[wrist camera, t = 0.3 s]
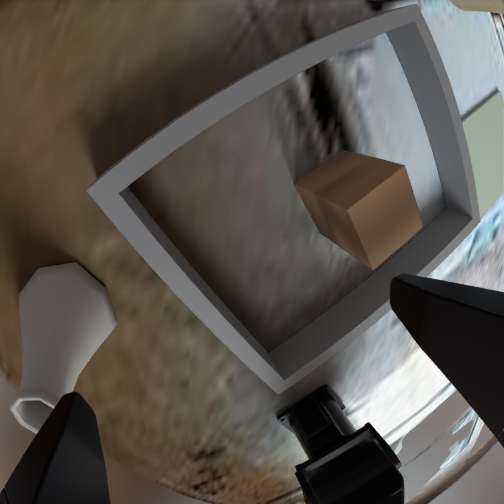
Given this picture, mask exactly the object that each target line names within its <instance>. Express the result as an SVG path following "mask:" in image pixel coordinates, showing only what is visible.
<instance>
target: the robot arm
mask: <svg viewBox="0 0 504 504" xmlns="http://www.w3.org/2000/svg"><path fill="white" fill-rule="evenodd" d="M390 306H391V308H392V310H393V311H394V313H395V314H396V315H397V317H398V318H399V319H400V321H401V322H402V323H403V325H404V326H405V328H406V329H407V330H408V332H409V333H410V334H411V336H412V337H413V339H414V340H415V341H416V343H417V344H418V345H419V346H420V348H421V349H422V350H423V351H424V352H425V353H426V355H427V356H428V357H429V358H430V359H431V360H432V361H433V362H434V364H435V365H436V366H437V367H438V368H439V369H440V370H441V372H442V373H443V374H444V375H445V376H446V377H447V379H448V380H449V381H450V382H451V383H452V384H453V386H454V387H455V388H456V389H457V390H458V391H459V393H460V394H461V395H462V396H463V397H464V399H465V400H466V401H467V402H468V403H469V405H470V406H471V407H472V408H473V410H474V411H475V412H476V413H477V414H478V416H479V417H480V418H481V419H482V421H483V422H484V423H485V424H486V426H487V427H488V428H489V429H490V431H491V432H492V433H493V434H494V436H495V437H496V438H497V440H498V441H499V442H500V443H501V445H502V446H503V448H504V292H500V291H495V290H490V289H485V288H479V287H474V286H469V285H464V284H458V283H453V282H448V281H443V280H437V279H432V278H427V277H421V276H416V275H411V274H405V273H402V274H399V275H397V276H395V277H393V278H392V279H391V281H390ZM344 408H345V406H344V405H343V403H342V402H341V401H340V400H339V398H338V397H337V396H336V395H335V393H334V392H333V391H332V390H331V389H330V387H329V386H328V385H324V386H322V387H321V388H319V389H318V390H317V391H315V392H314V393H312V394H311V395H309V396H308V397H306V398H305V399H304V400H302V401H301V402H299V403H298V404H296V405H295V406H293V407H292V408H290V409H289V410H287V411H285V412H284V413H282V414H281V415H279V416H278V417H277V420H278V422H279V423H280V424H282V425H283V426H285V427H286V428H287V429H289V430H290V431H291V432H293V433H294V434H295V435H296V437H297V439H298V440H299V442H300V444H301V446H302V448H303V449H304V451H305V453H306V455H307V457H308V458H309V460H307V461H305V462H304V463H302V464H298V465H296V466H295V468H296V470H297V472H296V473H295V475H296V477H297V479H298V481H299V483H300V485H301V488H302V492H303V495H304V499H305V502H306V504H404V479H403V476H402V475H401V473H400V472H399V471H398V468H400V467H401V466H402V465H401V463H400V461H399V459H398V457H397V456H396V454H395V453H394V451H393V450H392V449H391V447H390V446H389V445H388V444H387V442H386V441H385V440H384V439H383V438H382V437H381V436H380V434H379V433H378V432H377V431H376V430H375V429H374V427H373V426H372V425H371V424H370V423H369V422H368V423H366V424H365V426H363V427H362V428H360V429H359V430H356V429H355V428H354V426H353V425H352V423H351V422H350V421H349V419H348V418H347V416H346V415H345V414H344V412H343V411H342V410H344ZM0 504H111V503H110V497H109V490H108V483H107V475H106V467H105V462H104V456H103V452H102V447H101V442H100V437H99V431H98V426H97V420H96V415H95V413H94V411H93V410H92V408H91V407H90V406H89V405H88V403H87V402H86V401H85V400H84V398H83V397H82V396H81V395H80V393H78V392H75V391H74V392H70V393H66V394H64V395H63V396H62V397H61V399H60V400H59V402H58V403H57V404H56V406H55V407H54V409H53V410H52V412H51V413H50V415H49V416H48V418H47V419H46V421H45V422H44V424H43V425H42V427H41V428H40V430H39V431H38V433H37V435H36V436H35V438H34V439H33V441H32V442H31V444H30V445H29V447H28V448H27V450H26V452H25V453H24V455H23V456H22V458H21V460H20V461H19V463H18V465H17V466H16V468H15V469H14V471H13V473H12V474H11V476H10V478H9V479H8V481H7V483H6V484H5V488H3V490H2V491H1V493H0Z"/></svg>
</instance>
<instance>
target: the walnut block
mask: <svg viewBox="0 0 504 504" xmlns="http://www.w3.org/2000/svg"><path fill="white" fill-rule="evenodd" d="M294 186H295V188H296V190H297V191H298V193H299V195H300V197H301V198H302V200H303V202H304V204H305V206H306V208H307V209H308V211H309V213H310V215H311V217H312V219H313V221H314V222H315V224H316V226H317V228H318V230H319V232H320V233H321V234H322V235H323V236H325V237H326V238H328V239H329V240H331V241H332V242H334V243H335V244H336V245H338V246H339V247H341V248H342V249H344V250H345V251H346V252H348V253H349V254H351V255H352V256H353V257H355V258H356V259H358V260H359V261H360V262H362V263H363V264H365V265H366V266H367V267H369V268H370V269H371V270H374V269H375V268H376V267H378V266H379V265H380V264H381V263H382V262H383V261H385V260H386V259H387V258H388V257H389V256H391V255H392V254H393V253H394V252H395V251H396V250H397V249H399V248H400V247H401V246H402V245H403V244H404V243H405V242H407V241H408V240H409V239H410V238H411V237H412V236H413V235H414V234H416V233H417V232H418V231H419V230H420V229H421V228H422V227H423V225H422V221H421V218H420V214H419V210H418V207H417V203H416V200H415V196H414V193H413V190H412V186H411V183H410V180H409V177H408V174H407V171H406V168H405V165H401V164H398V163H394V162H390V161H386V160H382V159H378V158H374V157H370V156H366V155H362V154H357V153H353V152H349V151H344V150H342V151H340V152H339V153H337V154H336V155H335V156H333V157H332V158H330V159H329V160H327V161H326V162H324V163H323V164H321V165H320V166H319V167H317V168H316V169H314V170H313V171H311V172H310V173H308V174H307V175H306V176H304V177H303V178H301V179H300V180H298V181H297V182H296V183H294Z"/></svg>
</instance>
